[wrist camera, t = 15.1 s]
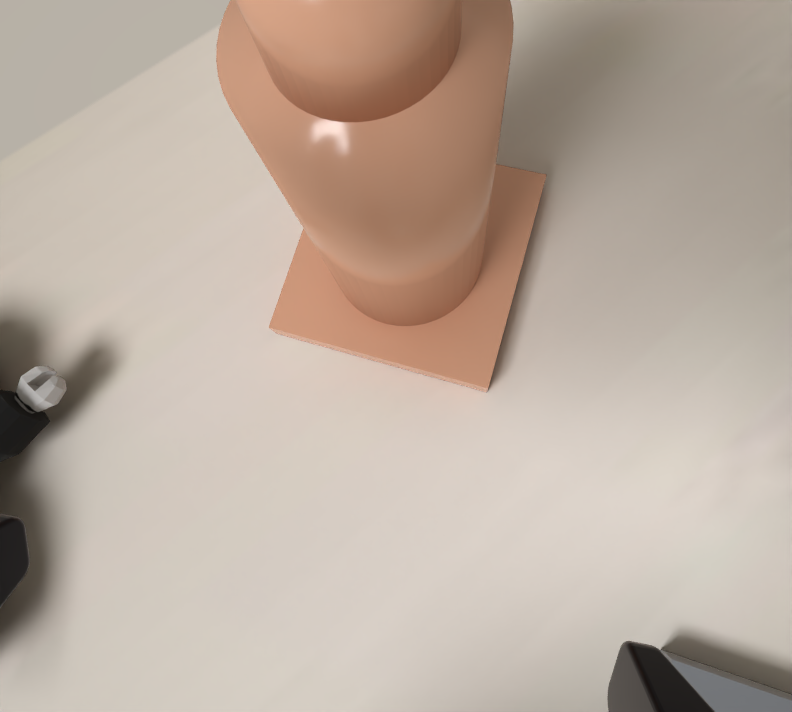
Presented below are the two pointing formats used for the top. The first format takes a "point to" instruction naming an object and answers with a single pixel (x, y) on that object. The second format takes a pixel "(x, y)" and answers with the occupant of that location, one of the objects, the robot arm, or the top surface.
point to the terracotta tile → (435, 341)
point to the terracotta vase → (377, 135)
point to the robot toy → (27, 408)
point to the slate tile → (730, 689)
